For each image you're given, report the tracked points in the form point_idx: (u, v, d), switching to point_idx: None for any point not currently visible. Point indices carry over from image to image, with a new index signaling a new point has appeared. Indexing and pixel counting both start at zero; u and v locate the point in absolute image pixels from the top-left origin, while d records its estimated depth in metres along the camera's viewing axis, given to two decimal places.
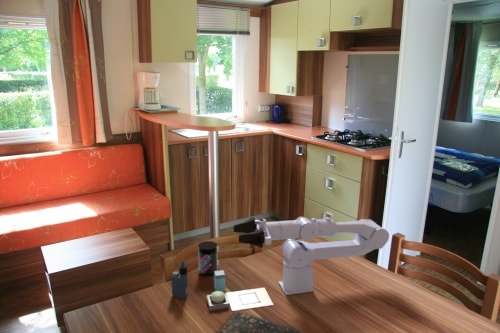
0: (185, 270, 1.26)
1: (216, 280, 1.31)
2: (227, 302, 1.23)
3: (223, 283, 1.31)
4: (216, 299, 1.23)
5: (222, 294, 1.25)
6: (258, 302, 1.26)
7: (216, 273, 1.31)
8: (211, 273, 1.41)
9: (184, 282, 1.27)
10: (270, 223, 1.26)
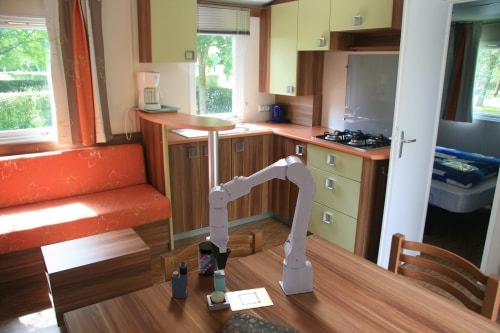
0: (185, 270, 1.26)
1: (216, 280, 1.31)
2: (227, 302, 1.23)
3: (223, 283, 1.31)
4: (216, 299, 1.23)
5: (222, 294, 1.25)
6: (258, 302, 1.26)
7: (216, 273, 1.32)
8: (211, 273, 1.41)
9: (184, 282, 1.27)
10: (210, 233, 1.27)
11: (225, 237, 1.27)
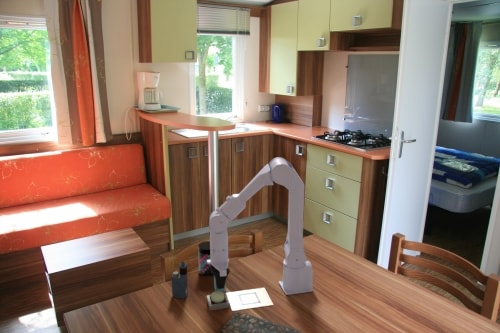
0: (185, 270, 1.26)
1: None
2: (227, 302, 1.23)
3: None
4: (216, 299, 1.23)
5: (222, 294, 1.25)
6: (258, 302, 1.26)
7: None
8: (211, 273, 1.41)
9: (184, 282, 1.27)
10: (210, 257, 1.29)
11: (225, 260, 1.29)
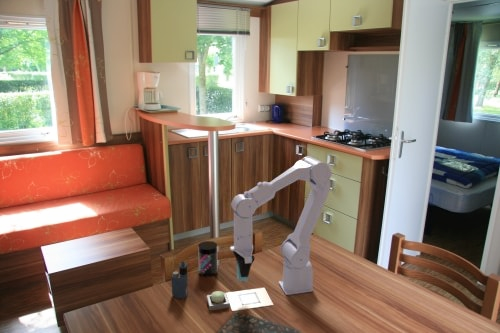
0: (185, 270, 1.26)
1: (239, 269, 1.24)
2: (227, 302, 1.23)
3: None
4: (216, 299, 1.23)
5: (222, 294, 1.25)
6: (258, 302, 1.26)
7: None
8: (211, 273, 1.41)
9: (184, 282, 1.27)
10: (234, 243, 1.23)
11: (250, 247, 1.23)
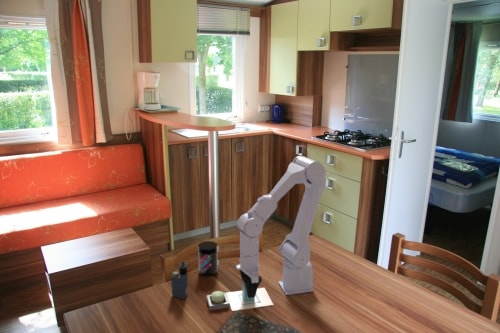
0: (185, 270, 1.26)
1: (245, 289, 1.25)
2: (227, 302, 1.23)
3: None
4: (216, 299, 1.23)
5: (222, 294, 1.25)
6: (258, 302, 1.26)
7: None
8: (211, 273, 1.41)
9: (184, 282, 1.27)
10: (240, 262, 1.23)
11: (256, 266, 1.23)
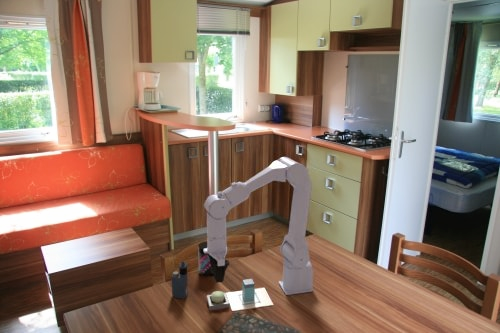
0: (185, 270, 1.26)
1: (245, 289, 1.25)
2: (227, 302, 1.23)
3: (252, 292, 1.26)
4: (216, 299, 1.23)
5: (222, 294, 1.25)
6: (258, 302, 1.26)
7: (245, 282, 1.26)
8: (211, 273, 1.41)
9: (184, 282, 1.27)
10: (207, 245, 1.19)
11: (223, 249, 1.19)
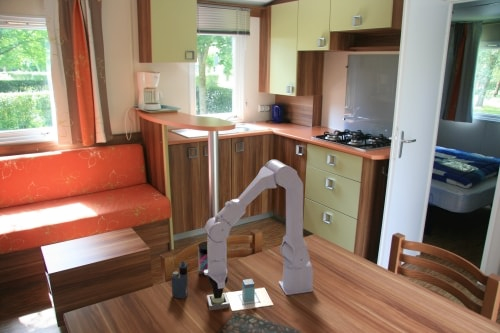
0: (185, 270, 1.26)
1: (245, 289, 1.25)
2: (227, 302, 1.23)
3: (252, 292, 1.26)
4: (216, 302, 1.23)
5: (222, 296, 1.25)
6: (258, 302, 1.26)
7: (245, 282, 1.26)
8: None
9: (184, 282, 1.27)
10: (208, 267, 1.21)
11: (224, 271, 1.21)
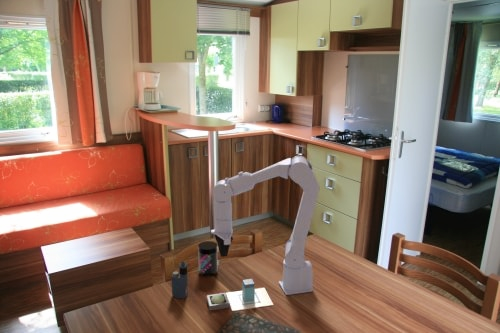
0: (185, 270, 1.26)
1: (245, 289, 1.25)
2: (227, 302, 1.23)
3: (252, 292, 1.26)
4: (216, 303, 1.23)
5: (222, 297, 1.25)
6: (258, 302, 1.26)
7: (245, 282, 1.26)
8: (211, 273, 1.41)
9: (184, 282, 1.27)
10: (215, 226, 1.30)
11: (229, 230, 1.30)
